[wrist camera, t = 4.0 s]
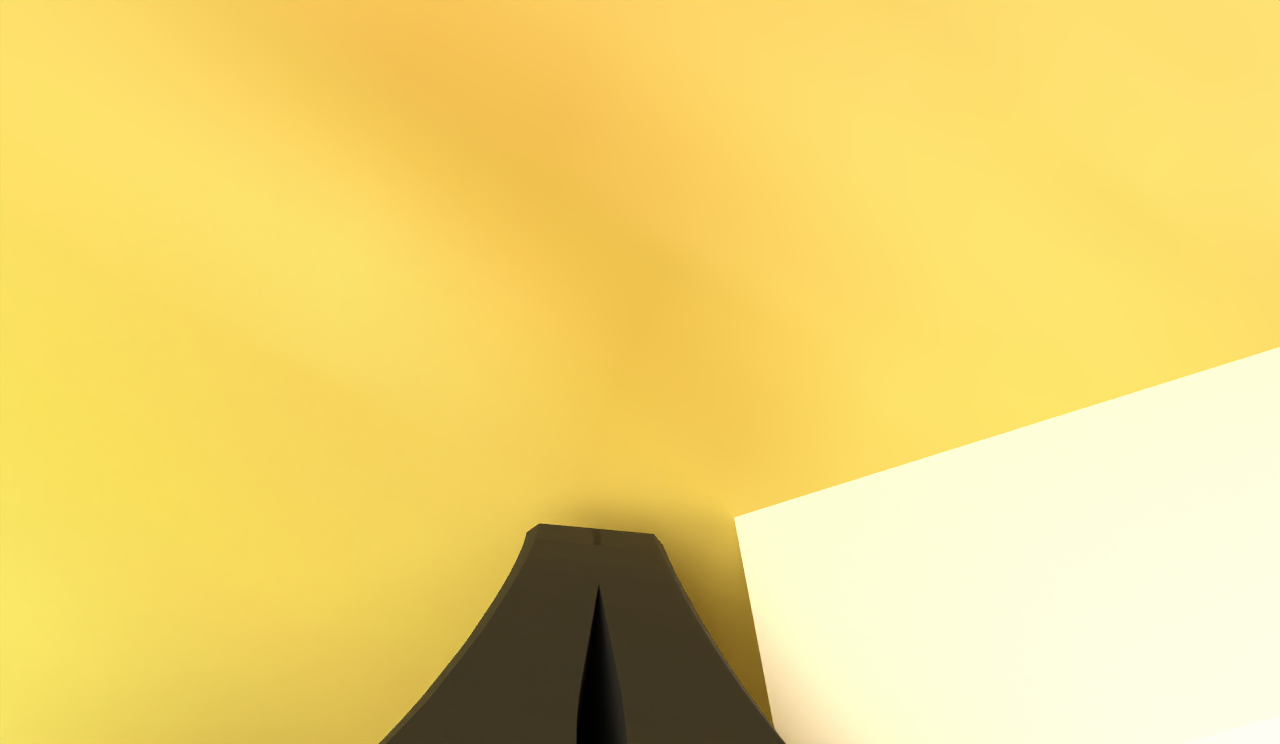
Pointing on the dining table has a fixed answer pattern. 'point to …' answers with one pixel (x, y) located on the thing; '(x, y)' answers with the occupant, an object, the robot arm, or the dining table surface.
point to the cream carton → (1040, 581)
